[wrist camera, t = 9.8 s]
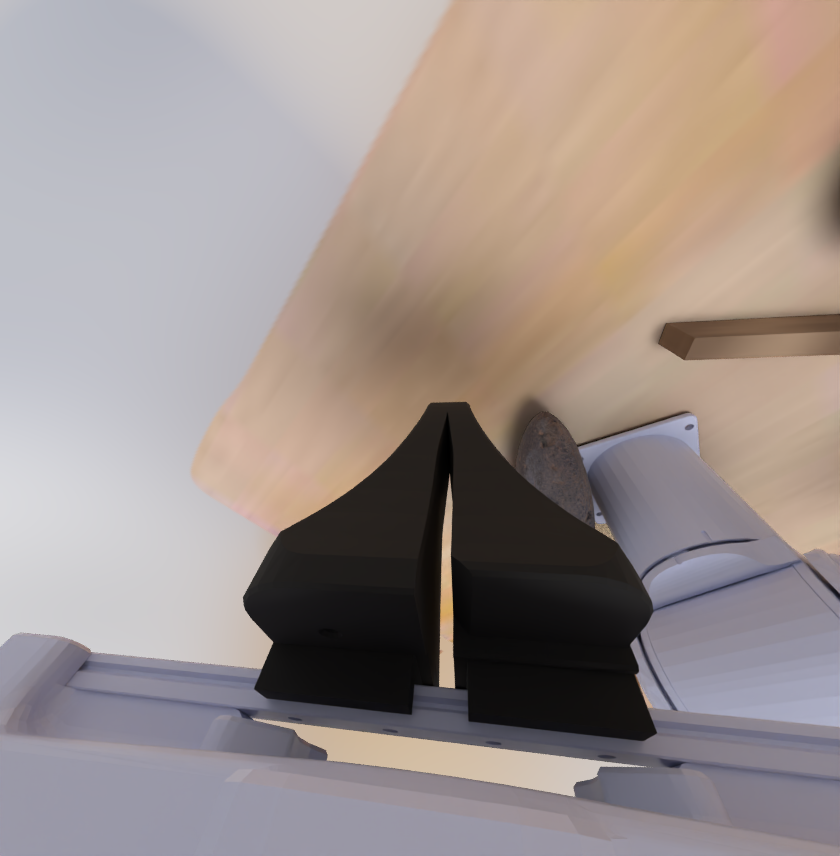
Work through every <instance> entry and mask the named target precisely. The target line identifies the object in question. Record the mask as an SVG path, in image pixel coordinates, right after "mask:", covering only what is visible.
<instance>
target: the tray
mask: <svg viewBox="0 0 840 856" xmlns="http://www.w3.org/2000/svg"><path fill="white" fill-rule="evenodd" d="M658 344H660V345H661V346H663V347H665V348H666V349H668V350H669V351H671V352H672V353H674V354H676V355H677V356H679V357H680V358H682V359H683V360H705V359H733V358H760V357H787V356H814V355H840V314H837V315H817V316H798V317H778V318H759V319H739V320H720V321H701V322H681V323H666V326H665V328H664V331H663V333H662V336H661V338H660V341H659V343H658Z"/></svg>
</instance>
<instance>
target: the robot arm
mask: <svg viewBox="0 0 840 856" xmlns="http://www.w3.org/2000/svg"><path fill="white" fill-rule="evenodd" d="M687 425H688V426H687ZM686 426H687V427H686ZM578 450H579V452H580V454H581V457H582V461H583V464H584V467H585V469H586V472H587V476H588V479H589V483H590V487H591V492H592V498H593V505H594V515H595V522H596V523H598V524H604V523H607V525H608V527H609V529H610V531H611V533H612V535H613V537H614V540H615V541H614V540H612V539H610V538H609V537H607V536H605V535H604V534H602V533H600V532H599V531H597V530H595V529H594V528H592V527H591V526H589V525H587V524H586V523H584V522H582V521H581V520H579V519H577V518H576V517H574V516H573V515H571V514H570V513H569V512H567V511H566V510H564V509H563V508H561V507H560V506H559V505H557V504H556V503H554V502H553V501H552V500H550V499H549V498H548V497H547V496H545V495H544V494H543V493H542V492H540V491H539V490H538V489H537V488H535V487H534V486H533V485H532V484H531V483H529V482H528V481H527V480H526V479H525V478H524V477H523V476H522V475H521V474H520V473H518V472H517V471H516V470H515V469H514V468H513V466H512V465H511V464H510V463H509V462H508V461H507V460H506V459H505V458H504V457H503V456H502V455H501V453H500V452H499V451H498V450H497V449H496V447H495V446H494V445H493V444H492V442H491V441H490V440H489V438H488V437H487V435H486V434H485V432H484V431H483V430H482V428H481V427H480V425H479V423H478V422H477V420H476V418H475V417H474V415H473V413H472V411H471V408H470V405H469V404H468V403H467V402H446V403H430V404H429V405H428V407H427V409H426V410H425V412H424V414H423V415H422V417H421V418H420V420H419V421H418V423H417V424H416V426H415V427H414V428H413V430H412V431H411V432H410V434H409V435H408V436H407V438H406V439H405V440H404V441H403V442H402V443H401V445H400V446H399V447H398V448H397V449H396V450H395V452H394V453H393V454H392V455H391V456H390V457H389V458H388V459H387V460H386V461H385V462H384V463H383V464H382V465H381V466H380V467H378V468H377V469H376V470H375V471H374V472H373V473H372V474H370V475H369V476H368V477H367V478H365V479H364V480H363V481H362V482H360V483H359V484H358V485H357V486H355V487H354V488H353V489H351V490H350V491H348V492H347V493H346V494H344V495H343V496H341V497H340V498H338V499H337V500H335V501H334V502H332V503H330V504H329V505H327V506H326V507H324V508H322V509H321V510H319V511H317V512H316V513H314V514H312V515H310V516H308V517H307V518H305V519H303V520H301V521H299V522H298V523H296V524H294V525H292V526H290V527H289V528H287V529H285V530H283V531H281V532H280V533H279V535H278V537H277V538H276V540H275V541H274V543H273V544H272V546H271V547H270V549H269V551H268V553H267V554H266V556H265V558H264V560H263V562H262V564H261V565H260V567H259V569H258V571H257V573H256V575H255V576H254V578H253V580H252V582H251V584H250V586H249V587H248V589H247V591H246V593H245V595H244V596H243V602H244V607H245V610H246V611H247V613H248V614H249V616H250V617H251V618H252V620H253V621H254V622H255V623H256V624H257V625H258V626H259V627H260V628H261V629H262V630H263V631H264V633H265V634H266V635H267V636H268V637H269V638H270V639H271V640H272V641H273V645H272V647H271V649H270V652H269V654H268V656H267V659H266V661H265V664H264V666H263V668H262V669H254V668H244V667H234V666H224V665H213V664H204V663H194V662H183V661H174V660H164V659H154V658H143V657H134V656H124V655H114V654H104V653H94V652H91V651H90V649H89V648H87V647H85V646H84V645H82V644H80V643H78V642H75V641H73V640H70V639H67V638H63V637H58V636H51V635H40V634H39V635H38V634H29V633H18V634H15V635H13V636H12V637H11V638H10V639H8V640H7V641H6V643H4V644H3V645H2V646H1V647H0V856H840V555H836V554H832V553H831V554H828V553H826V552H825V551H823V550H821V549H814V550H812V551H810V552H808V553H805V554H803V555H804V556H805V557H806V558H807V559H806V558H805V557H804V556H803V555H801V554H800V553H799V552H797V551H796V550H795V549H794V548H792V547H791V546H790V545H788V544H787V543H786V542H785V541H784V540H783V539H782V538H781V537H780V536H779V535H778V534H777V533H776V532H775V531H774V530H773V529H772V528H771V527H770V526H769V525H768V524H767V523H766V522H765V521H764V520H763V519H762V518H761V517H760V516H759V515H758V514H757V513H756V512H755V511H754V510H753V509H752V508H751V507H750V506H749V505H748V504H747V503H746V502H745V501H744V500H743V499H742V498H741V497H740V496H739V495H738V494H737V493H736V492H735V491H734V490H733V489H732V488H731V487H730V486H729V485H728V484H727V483H726V482H725V481H724V480H723V479H722V478H721V477H720V476H719V475H718V474H717V473H716V472H715V471H714V470H713V469H712V468H711V467H710V466H709V465H708V464H707V463H706V462H705V461H704V460H702V459H701V458H700V450H699V436H698V422H697V417H696V416H695V415H694V414H692V413H685V414H682V415H679V416H675V417H672V418H669V419H666V420H663V421H659V422H656V423H653V424H650V425H647V426H643V427H640V428H637V429H634V430H631V431H627V432H624V433H621V434H618V435H615V436H611V437H608V438H605V439H602V440H599V441H595V442H592V443H589V444H586V445H583V446H579V447H578ZM449 474H450V480H451V491H452V501H453V511H452V542H451V567H452V592H453V657H454V671H455V689H454V688H444V687H439V655H440V601H441V559H442V533H443V523H444V515H445V507H446V499H447V491H448V482H449ZM635 674H636V676H637V678H638V681H639V683H640V685H641V687H642V689H643V690H644V692H645V694H646V696H647V698H648V699H649V701H650V703H651V704H652V706H653V708H647V705H646V703H645V700H644V697H643V695H642V692H641V690H640V687H639V685H638V682H637V680H636V677H635ZM252 718H256V719H265V720H273V721H281V722H289V723H298V724H305V725H313V726H321V727H330V728H338V729H346V730H354V731H362V732H371V733H378V734H387V735H394V736H403V737H411V738H419V739H427V740H435V741H443V742H451V743H460V744H467V745H477V746H484V747H492V748H500V749H508V750H516V751H525V752H532V753H541V754H549V755H557V756H565V757H573V758H582V759H589V760H597V761H605V762H614V763H622V764H630V765H638V766H646V767H600V769H599V771H598V773H597V775H598V776H597V777H595V778H594V779H591V780H586V781H581V782H577V783H576V784H575V786H574V792H575V797H572V796H567V795H561V794H555V793H550V792H544V791H537V790H533V789H527V788H521V787H515V786H509V785H504V784H497V783H490V782H484V781H478V780H472V779H465V778H459V777H452V776H446V775H438V774H431V773H423V772H416V771H409V770H402V769H395V768H387V767H378V766H369V765H361V764H353V763H345V762H334V761H326V760H327V752H326V750H324V749H322V748H319V747H317V746H314V745H312V744H309V743H308V742H306V741H305V740H303V739H301V738H300V737H298V735H297V734H296V732H295V731H294V730H292V729H288V728H284V727H280V726H276V725H271V724H267V723H263V722H258V721H254V720H253V719H252Z"/></svg>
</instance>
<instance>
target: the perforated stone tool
mask: <svg viewBox="0 0 840 856" xmlns="http://www.w3.org/2000/svg"><path fill="white" fill-rule="evenodd" d="M515 470H516V471H517V472H518V473H520V474H521V475H522V476H523V477H524V478H525V479H526V480H527V481H528V482H529V483H531V484H532V485H533V486H534V487H535V488H537V489H538V490H539V491H540V492H542V493H543V494H544V495H545V496H547V497H548V498H549V499H550V500H552V501H553V502H554V503H556V504H557V505H559V506H560V507H561V508H563V509H564V510H566V511H567V512H569V513H570V514H571V515H573V516H574V517H576V518H577V519H579V520H581V521H582V522H584V523H586V524H587V525H589V526H591V527H592V528H594V529H595V515H594V505H593V498H592V492H591V487H590V483H589V479H588V476H587V472H586V469H585V467H584V464H583V461H582V457H581V454H580V452H579V450H578V447H577V445H576V443H575V441H574V439H573V438H572V436H571V435H570V433H569V431H568V430H567V429H566V427H565V426H564V425H563V424H562V422H561V421H560V420H558V418H556V417H555V416H554V415H552V414H550V413H549V412H541V413H539V414H537V415H536V416H535V417H534V418H533V419H532V420H531V421H530V423H529V425H528V426H527V428H526V430H525V432H524V434H523V437H522V439H521V442H520V445H519V449H518V454H517V459H516V469H515Z"/></svg>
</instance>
